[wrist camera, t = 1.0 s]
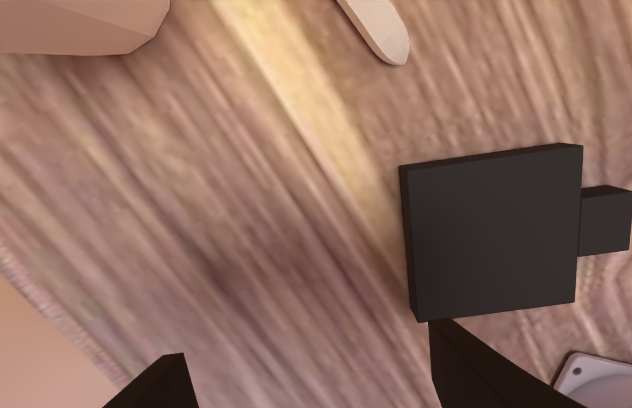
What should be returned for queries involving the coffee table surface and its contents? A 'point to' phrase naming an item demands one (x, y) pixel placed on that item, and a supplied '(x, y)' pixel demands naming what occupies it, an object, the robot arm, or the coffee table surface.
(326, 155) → the coffee table surface
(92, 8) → the foam cup
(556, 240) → the graphite pad
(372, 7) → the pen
